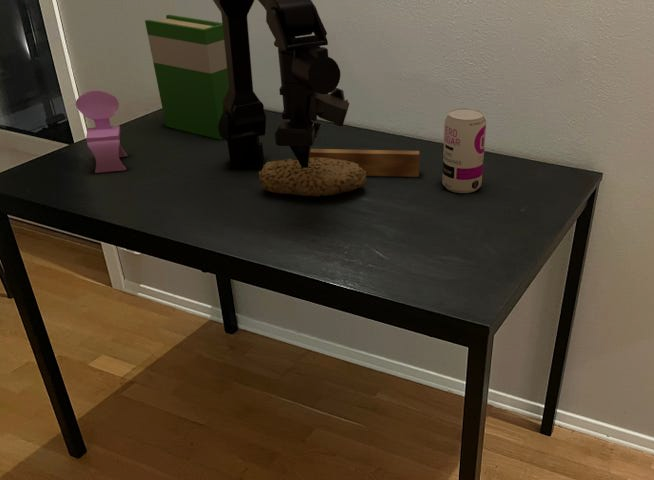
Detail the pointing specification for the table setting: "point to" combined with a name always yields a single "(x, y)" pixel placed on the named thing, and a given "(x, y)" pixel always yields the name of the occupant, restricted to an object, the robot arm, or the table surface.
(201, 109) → the hardback book
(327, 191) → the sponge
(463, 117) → the supplement can
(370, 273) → the table surface
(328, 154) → the back rail
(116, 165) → the toy chair
